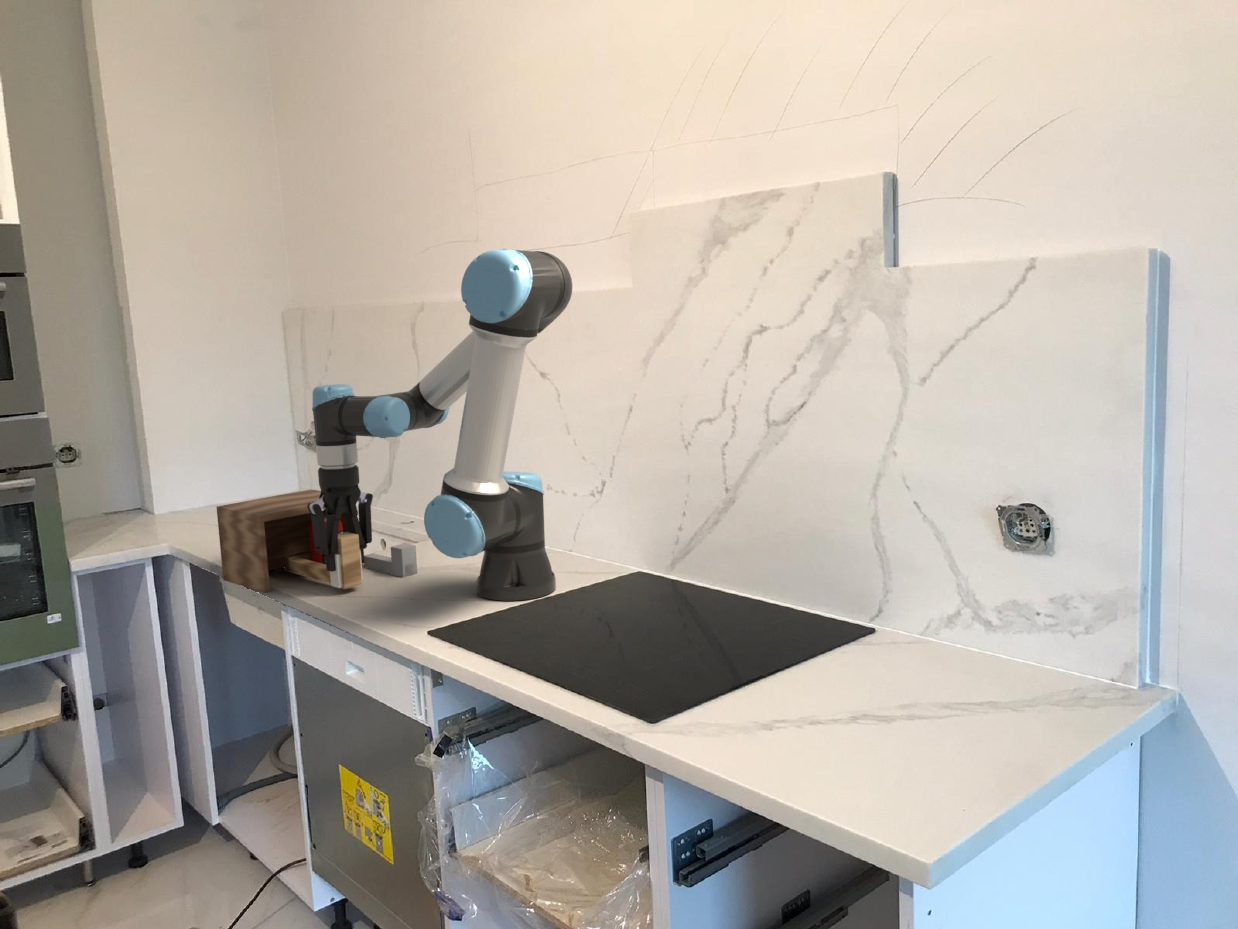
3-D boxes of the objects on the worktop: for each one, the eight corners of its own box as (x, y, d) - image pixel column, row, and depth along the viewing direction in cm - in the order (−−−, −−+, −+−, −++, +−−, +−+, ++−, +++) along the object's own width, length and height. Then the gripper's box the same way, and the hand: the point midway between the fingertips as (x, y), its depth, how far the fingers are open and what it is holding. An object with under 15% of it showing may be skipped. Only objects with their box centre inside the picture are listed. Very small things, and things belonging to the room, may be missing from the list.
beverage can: (335, 578, 205) (331, 521, 203) (306, 577, 206) (301, 520, 204) (351, 569, 211) (347, 514, 209) (323, 568, 213) (318, 513, 211)
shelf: (359, 568, 212) (354, 496, 210) (265, 592, 196) (258, 515, 193) (316, 557, 223) (310, 489, 220) (223, 580, 206) (216, 506, 203)
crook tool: (385, 577, 200) (382, 528, 198) (344, 589, 192) (341, 538, 191) (321, 561, 213) (318, 515, 212) (281, 571, 206) (277, 524, 204)
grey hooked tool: (417, 573, 207) (415, 545, 206) (403, 577, 204) (401, 549, 203) (376, 564, 216) (374, 537, 215) (362, 567, 213) (360, 540, 212)
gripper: (363, 458, 200) (371, 571, 204) (287, 470, 187) (297, 591, 191) (386, 460, 195) (394, 576, 199) (310, 473, 182) (320, 597, 186)
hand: (347, 583), depth 195 cm, fingers closed on crook tool, 4 cm apart
